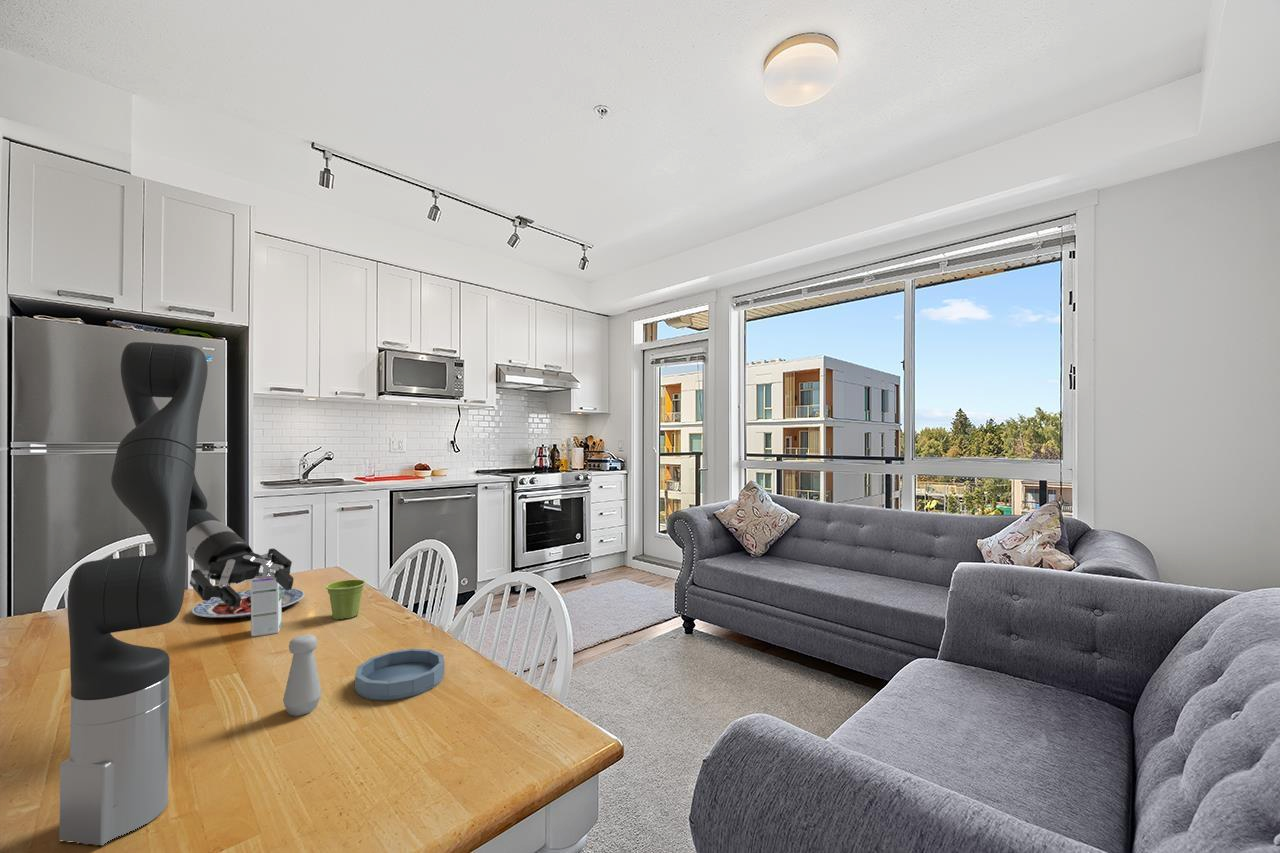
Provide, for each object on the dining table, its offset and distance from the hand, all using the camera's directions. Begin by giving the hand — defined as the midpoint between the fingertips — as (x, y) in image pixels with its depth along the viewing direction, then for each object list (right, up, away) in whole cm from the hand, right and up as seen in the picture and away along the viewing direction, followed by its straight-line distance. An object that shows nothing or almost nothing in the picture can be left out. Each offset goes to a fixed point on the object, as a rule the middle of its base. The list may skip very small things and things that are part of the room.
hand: (265, 594), depth 96 cm
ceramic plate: (-44, -22, +58) cm, 76 cm away
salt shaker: (+6, -21, +2) cm, 22 cm away
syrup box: (-27, -22, +40) cm, 53 cm away
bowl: (+18, -21, +13) cm, 31 cm away
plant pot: (-13, -22, +51) cm, 57 cm away
